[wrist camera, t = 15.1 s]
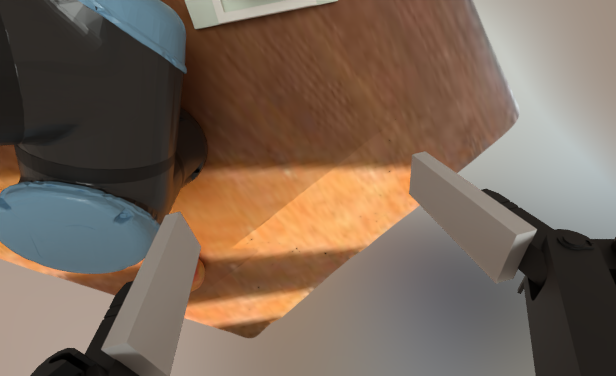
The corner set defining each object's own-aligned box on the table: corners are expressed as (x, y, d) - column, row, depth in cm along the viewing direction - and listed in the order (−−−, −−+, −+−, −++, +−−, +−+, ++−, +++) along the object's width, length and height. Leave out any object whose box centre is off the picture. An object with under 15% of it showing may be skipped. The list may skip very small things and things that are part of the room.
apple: (213, 265, 59) (207, 295, 52) (183, 274, 58) (174, 305, 52) (199, 244, 54) (191, 274, 48) (166, 254, 54) (154, 285, 48)
